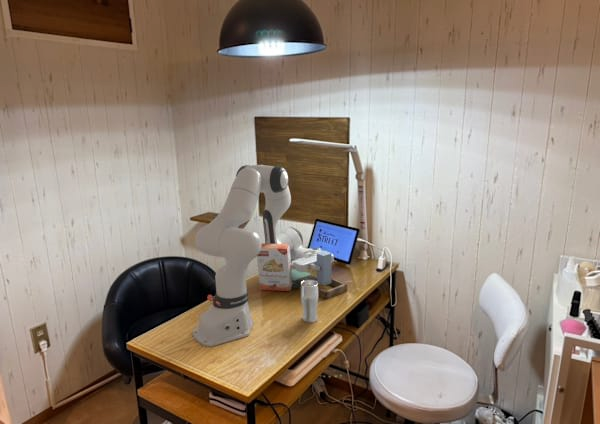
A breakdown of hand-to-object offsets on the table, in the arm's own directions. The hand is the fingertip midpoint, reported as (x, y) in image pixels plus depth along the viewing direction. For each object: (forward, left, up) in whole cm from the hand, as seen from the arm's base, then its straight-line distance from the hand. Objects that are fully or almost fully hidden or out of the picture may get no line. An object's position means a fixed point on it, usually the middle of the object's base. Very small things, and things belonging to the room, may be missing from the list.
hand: (325, 266), depth 182 cm
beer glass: (-22, -15, -11) cm, 29 cm away
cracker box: (-16, +16, -11) cm, 25 cm away
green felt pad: (0, +22, -11) cm, 25 cm away
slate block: (0, +1, -8) cm, 8 cm away
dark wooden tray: (0, +1, -11) cm, 11 cm away
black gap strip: (-3, +12, -11) cm, 17 cm away
